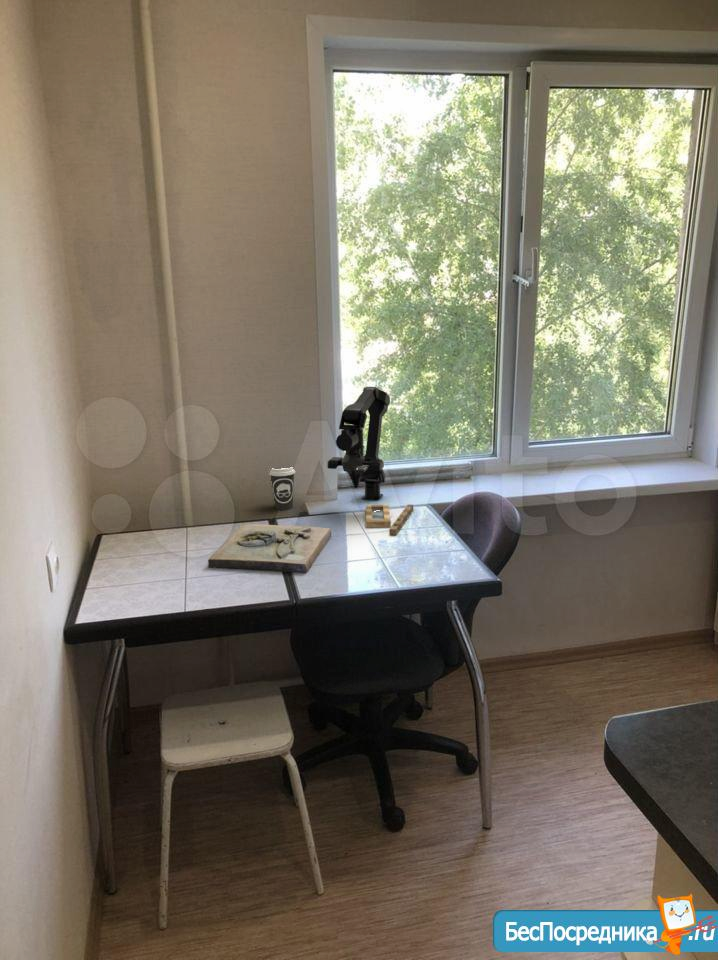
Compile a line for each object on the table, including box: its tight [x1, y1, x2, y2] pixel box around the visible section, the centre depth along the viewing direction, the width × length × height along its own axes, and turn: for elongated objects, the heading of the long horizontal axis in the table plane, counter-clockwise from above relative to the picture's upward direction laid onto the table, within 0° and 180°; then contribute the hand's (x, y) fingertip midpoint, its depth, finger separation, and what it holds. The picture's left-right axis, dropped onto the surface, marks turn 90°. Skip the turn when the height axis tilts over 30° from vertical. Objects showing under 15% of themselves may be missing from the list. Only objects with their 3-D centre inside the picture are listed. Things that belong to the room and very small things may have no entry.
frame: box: [365, 504, 392, 528], centre depth 248 cm, size 18×8×2 cm, turn 0°
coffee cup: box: [268, 466, 296, 511], centre depth 260 cm, size 10×10×15 cm
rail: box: [388, 504, 414, 536], centre depth 243 cm, size 26×2×3 cm, turn 163°
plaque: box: [207, 523, 332, 574], centre depth 220 cm, size 30×7×30 cm
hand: (356, 487), depth 253 cm, fingers closed
